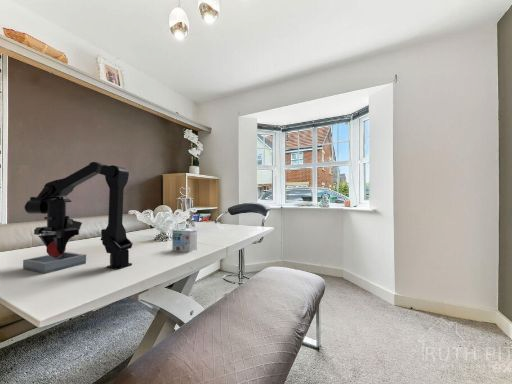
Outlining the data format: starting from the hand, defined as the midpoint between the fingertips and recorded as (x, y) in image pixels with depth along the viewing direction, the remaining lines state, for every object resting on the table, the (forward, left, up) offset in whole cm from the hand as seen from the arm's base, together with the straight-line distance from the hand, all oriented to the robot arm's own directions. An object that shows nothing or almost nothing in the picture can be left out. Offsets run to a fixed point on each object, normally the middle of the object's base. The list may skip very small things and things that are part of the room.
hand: (56, 252), depth 92 cm
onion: (0, 0, -2) cm, 2 cm away
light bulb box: (-30, -41, -6) cm, 51 cm away
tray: (0, 0, -5) cm, 5 cm away
